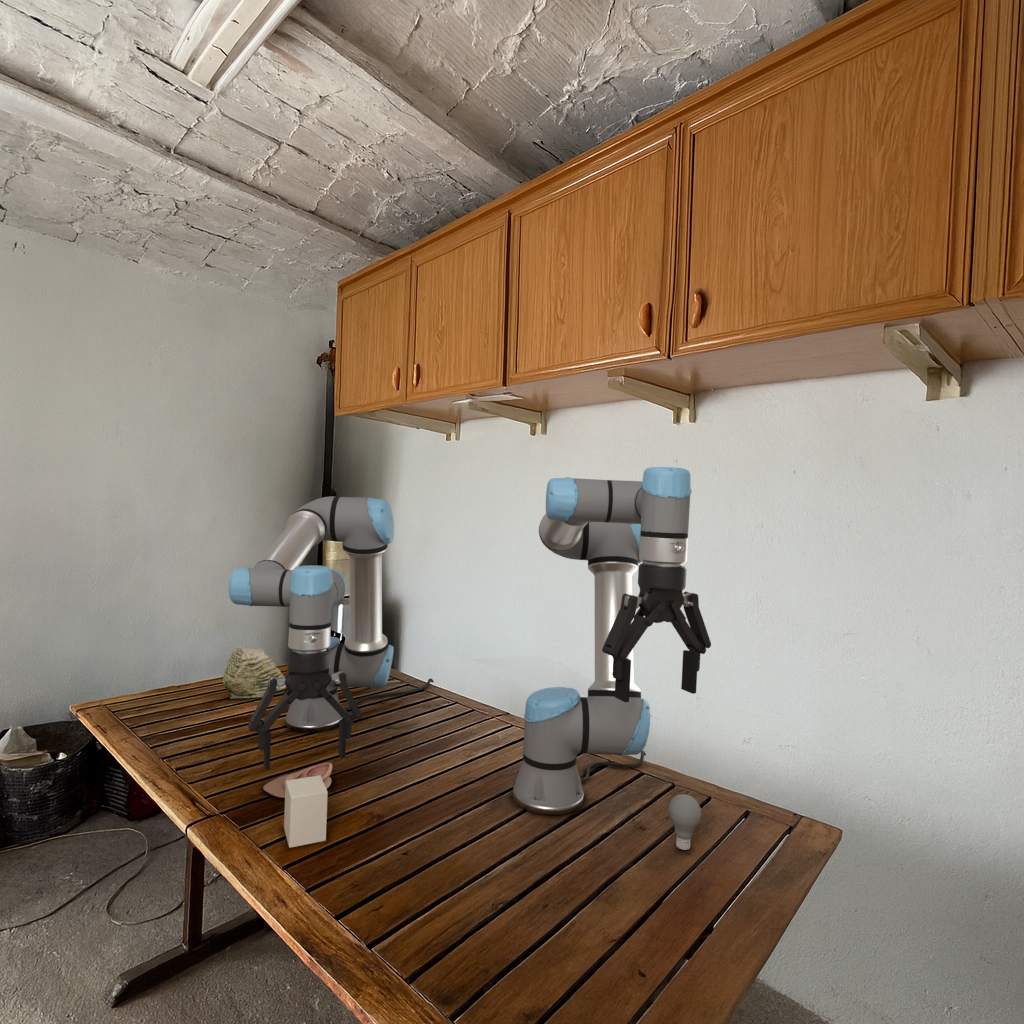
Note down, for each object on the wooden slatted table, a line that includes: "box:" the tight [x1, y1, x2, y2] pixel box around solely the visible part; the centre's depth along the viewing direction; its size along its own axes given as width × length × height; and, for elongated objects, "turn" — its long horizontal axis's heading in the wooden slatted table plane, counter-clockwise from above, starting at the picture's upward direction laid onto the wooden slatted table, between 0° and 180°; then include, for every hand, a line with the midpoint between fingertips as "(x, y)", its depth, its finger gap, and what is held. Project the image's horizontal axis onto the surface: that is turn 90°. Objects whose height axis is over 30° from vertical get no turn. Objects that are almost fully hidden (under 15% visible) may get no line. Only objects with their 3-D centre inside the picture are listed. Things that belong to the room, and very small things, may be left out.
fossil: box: [222, 646, 287, 699], centre depth 198 cm, size 9×18×15 cm, turn 132°
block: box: [283, 775, 329, 849], centre depth 119 cm, size 8×6×9 cm
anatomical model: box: [262, 762, 333, 799], centre depth 138 cm, size 13×4×12 cm
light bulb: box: [667, 793, 702, 851], centre depth 119 cm, size 6×6×10 cm
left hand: (305, 761), depth 119 cm, fingers open, 13 cm apart
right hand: (656, 695), depth 102 cm, fingers open, 13 cm apart
